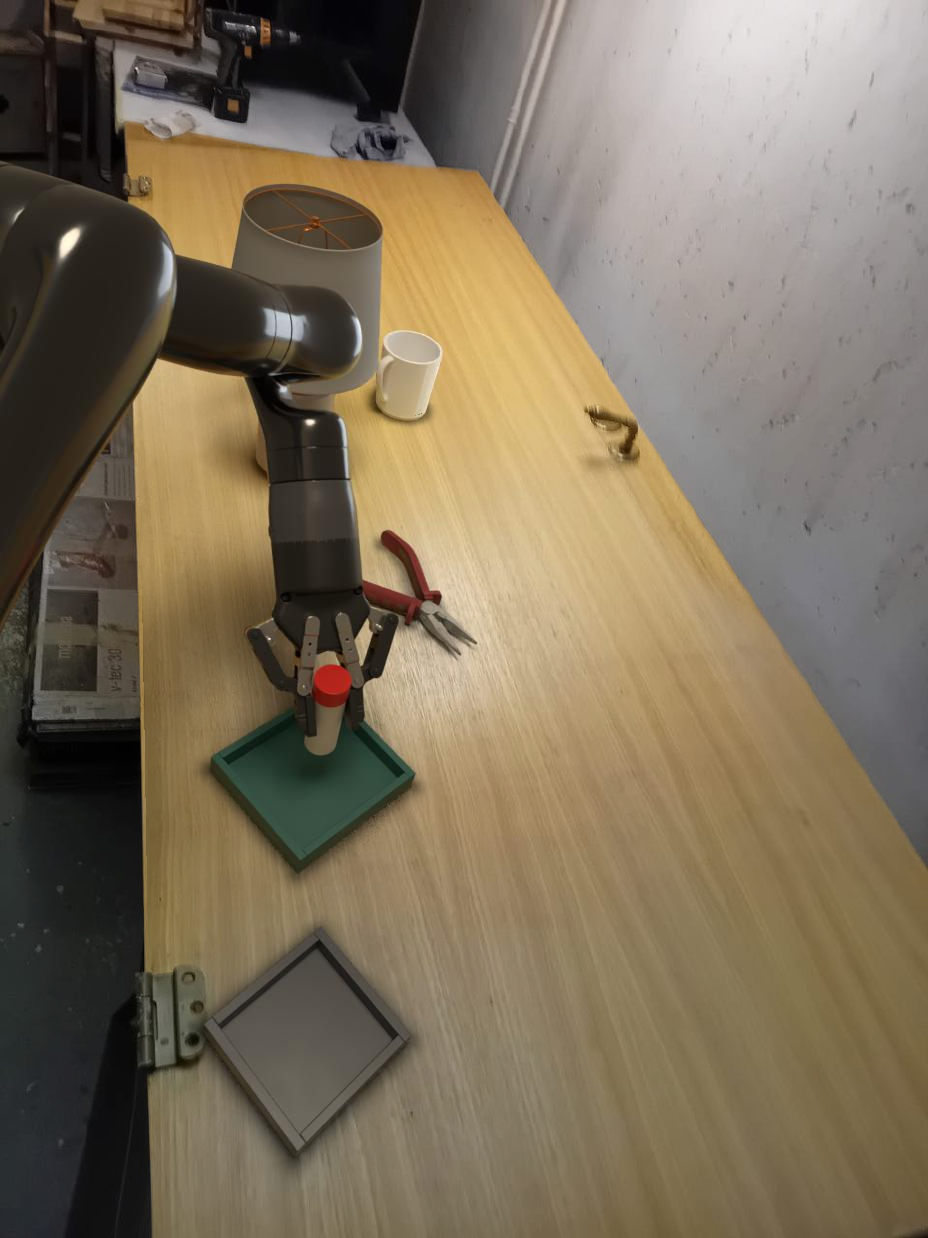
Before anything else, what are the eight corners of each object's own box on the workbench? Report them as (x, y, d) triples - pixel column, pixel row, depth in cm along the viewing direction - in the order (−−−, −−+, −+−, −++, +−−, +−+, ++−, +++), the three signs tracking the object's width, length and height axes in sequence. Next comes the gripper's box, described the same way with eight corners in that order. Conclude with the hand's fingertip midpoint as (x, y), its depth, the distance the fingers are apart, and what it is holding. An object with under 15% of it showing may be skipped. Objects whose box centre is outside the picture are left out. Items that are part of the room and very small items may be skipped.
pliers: (433, 678, 94) (438, 664, 92) (319, 572, 100) (322, 557, 98) (497, 634, 101) (503, 620, 99) (387, 538, 107) (390, 523, 105)
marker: (317, 762, 76) (330, 700, 68) (296, 739, 77) (306, 675, 69) (344, 744, 77) (359, 682, 70) (322, 721, 78) (335, 658, 71)
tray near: (294, 1158, 61) (297, 1152, 59) (203, 1033, 65) (203, 1024, 63) (406, 1043, 68) (412, 1035, 66) (317, 937, 72) (320, 926, 70)
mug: (402, 382, 132) (414, 324, 124) (440, 413, 129) (455, 355, 121) (350, 401, 125) (360, 340, 118) (389, 433, 122) (401, 373, 115)
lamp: (301, 408, 121) (328, 168, 97) (385, 482, 115) (436, 244, 90) (188, 445, 110) (185, 184, 85) (273, 529, 103) (297, 273, 79)
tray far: (297, 873, 75) (300, 861, 73) (210, 770, 80) (210, 756, 78) (411, 786, 84) (416, 773, 82) (326, 698, 89) (329, 684, 87)
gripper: (237, 541, 64) (258, 755, 66) (406, 530, 70) (421, 727, 72) (225, 542, 71) (244, 736, 73) (379, 531, 76) (393, 712, 78)
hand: (331, 730), depth 72 cm, fingers closed on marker, 3 cm apart
